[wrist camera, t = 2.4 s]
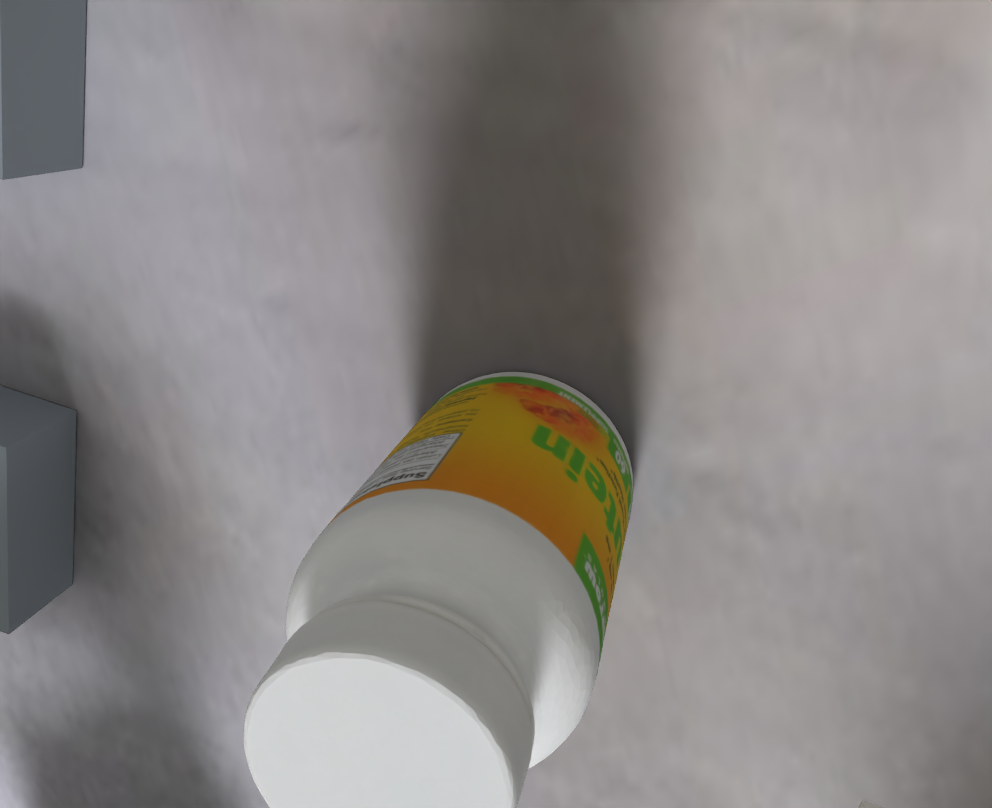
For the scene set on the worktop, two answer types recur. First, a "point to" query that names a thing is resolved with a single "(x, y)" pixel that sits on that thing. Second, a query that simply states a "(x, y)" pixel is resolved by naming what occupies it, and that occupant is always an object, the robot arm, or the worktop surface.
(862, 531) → the worktop surface
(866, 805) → the robot arm
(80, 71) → the notched board
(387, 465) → the supplement bottle
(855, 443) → the worktop surface
